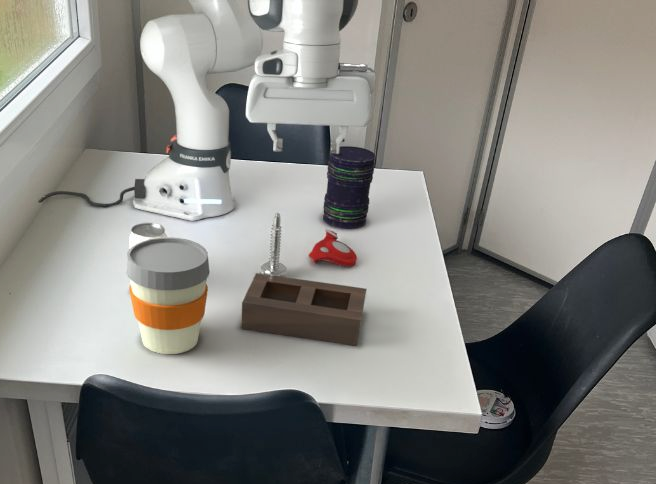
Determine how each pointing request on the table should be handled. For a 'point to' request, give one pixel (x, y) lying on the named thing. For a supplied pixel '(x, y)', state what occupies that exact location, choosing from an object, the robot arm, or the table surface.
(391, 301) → the table surface
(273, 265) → the screw
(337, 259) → the tracker holder
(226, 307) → the table surface
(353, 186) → the dark blue cylinder
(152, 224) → the can
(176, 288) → the reusable coffee cup
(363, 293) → the holder
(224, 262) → the table surface
